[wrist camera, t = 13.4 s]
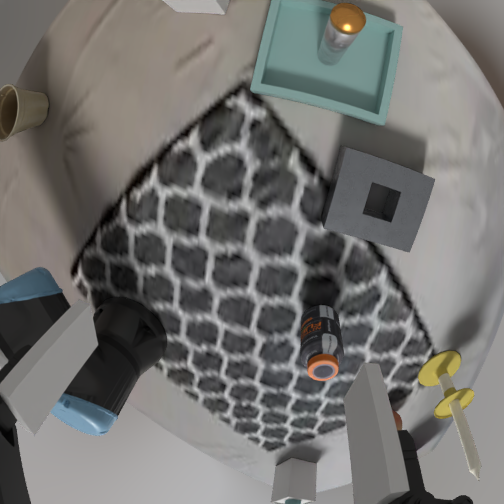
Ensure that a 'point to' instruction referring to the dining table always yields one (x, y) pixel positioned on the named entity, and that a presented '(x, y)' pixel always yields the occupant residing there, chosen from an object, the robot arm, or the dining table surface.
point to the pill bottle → (321, 342)
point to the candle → (452, 400)
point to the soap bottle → (294, 482)
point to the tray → (322, 76)
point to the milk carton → (199, 6)
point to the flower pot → (20, 110)
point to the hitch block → (356, 192)
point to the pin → (340, 32)
